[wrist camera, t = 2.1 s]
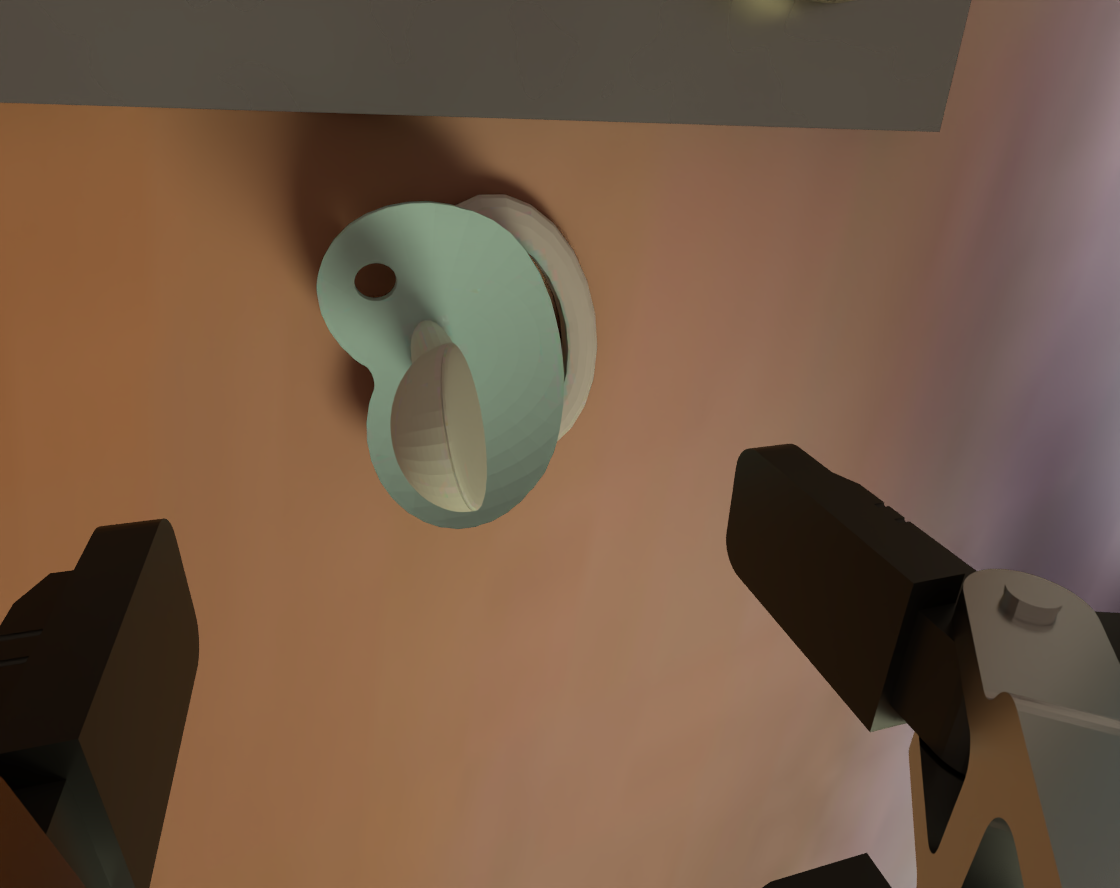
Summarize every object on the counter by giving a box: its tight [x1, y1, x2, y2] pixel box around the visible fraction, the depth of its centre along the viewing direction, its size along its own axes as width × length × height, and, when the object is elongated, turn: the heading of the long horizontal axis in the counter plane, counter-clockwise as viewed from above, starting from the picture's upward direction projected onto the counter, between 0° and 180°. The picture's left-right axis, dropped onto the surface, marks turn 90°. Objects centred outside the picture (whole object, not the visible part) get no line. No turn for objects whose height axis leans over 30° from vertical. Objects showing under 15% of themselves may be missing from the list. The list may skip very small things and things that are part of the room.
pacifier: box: [317, 194, 597, 529], centre depth 15 cm, size 7×6×6 cm
